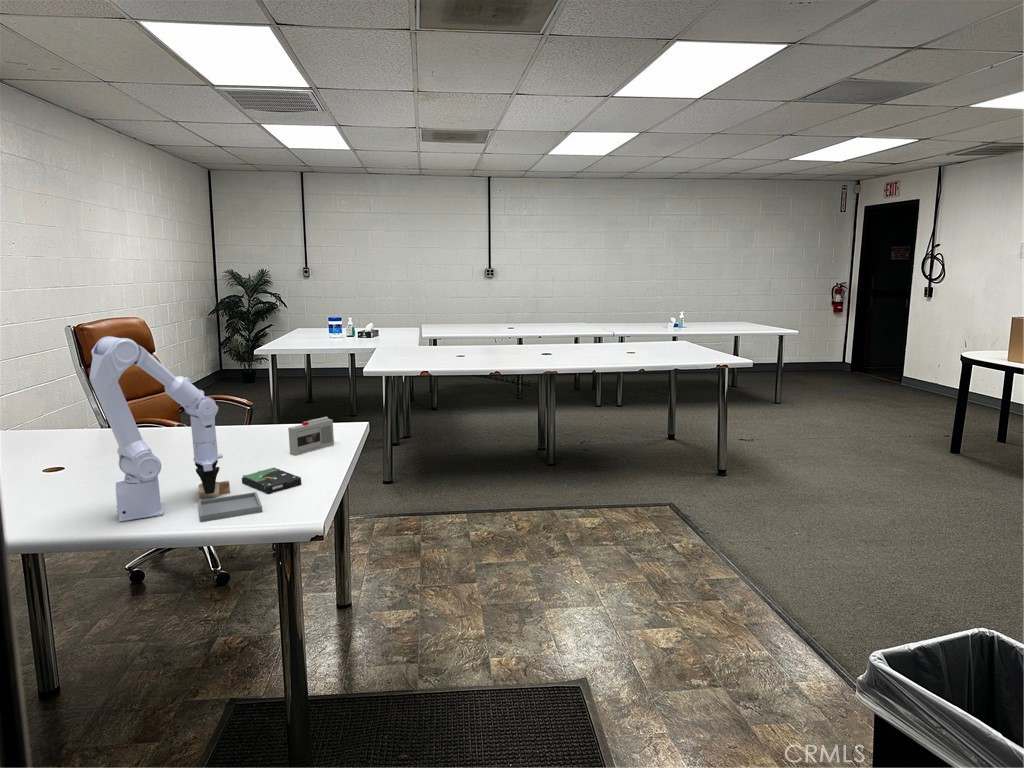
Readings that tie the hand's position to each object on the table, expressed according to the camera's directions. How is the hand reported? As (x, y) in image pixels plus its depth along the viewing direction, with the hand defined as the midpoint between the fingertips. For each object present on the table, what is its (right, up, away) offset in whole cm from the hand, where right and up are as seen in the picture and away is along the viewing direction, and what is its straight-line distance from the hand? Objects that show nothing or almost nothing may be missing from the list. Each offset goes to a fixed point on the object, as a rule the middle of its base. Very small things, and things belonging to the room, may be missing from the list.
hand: (209, 490), depth 179 cm
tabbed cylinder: (+1, -1, +1) cm, 2 cm away
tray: (+10, -3, -10) cm, 15 cm away
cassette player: (+15, +6, +44) cm, 47 cm away
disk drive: (+13, 0, +9) cm, 16 cm away
